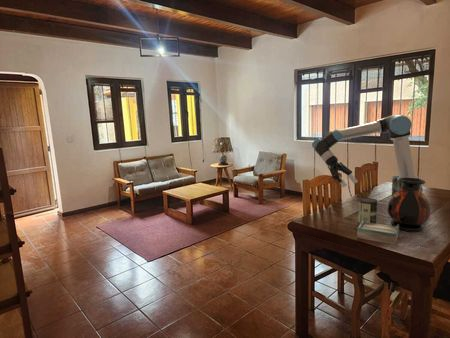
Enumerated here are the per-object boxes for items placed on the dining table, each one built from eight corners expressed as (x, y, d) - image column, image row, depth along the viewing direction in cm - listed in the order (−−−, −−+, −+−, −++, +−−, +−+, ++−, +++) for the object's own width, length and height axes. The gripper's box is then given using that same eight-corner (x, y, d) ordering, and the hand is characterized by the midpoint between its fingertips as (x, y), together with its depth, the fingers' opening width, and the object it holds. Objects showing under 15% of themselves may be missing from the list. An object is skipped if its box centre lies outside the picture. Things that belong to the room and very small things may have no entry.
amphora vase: (387, 218, 186) (391, 174, 181) (429, 225, 174) (435, 178, 169) (382, 229, 169) (387, 181, 164) (428, 237, 157) (435, 186, 152)
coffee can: (373, 219, 187) (374, 197, 185) (378, 225, 177) (379, 202, 175) (356, 219, 189) (356, 197, 187) (360, 224, 179) (360, 202, 177)
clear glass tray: (363, 228, 173) (363, 219, 172) (398, 234, 163) (399, 224, 162) (356, 237, 160) (357, 227, 160) (395, 244, 150) (395, 234, 149)
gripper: (335, 160, 207) (356, 184, 198) (315, 164, 191) (336, 191, 182) (343, 153, 202) (364, 177, 193) (322, 157, 186) (344, 184, 177)
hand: (350, 184), depth 188 cm, fingers open, 13 cm apart
